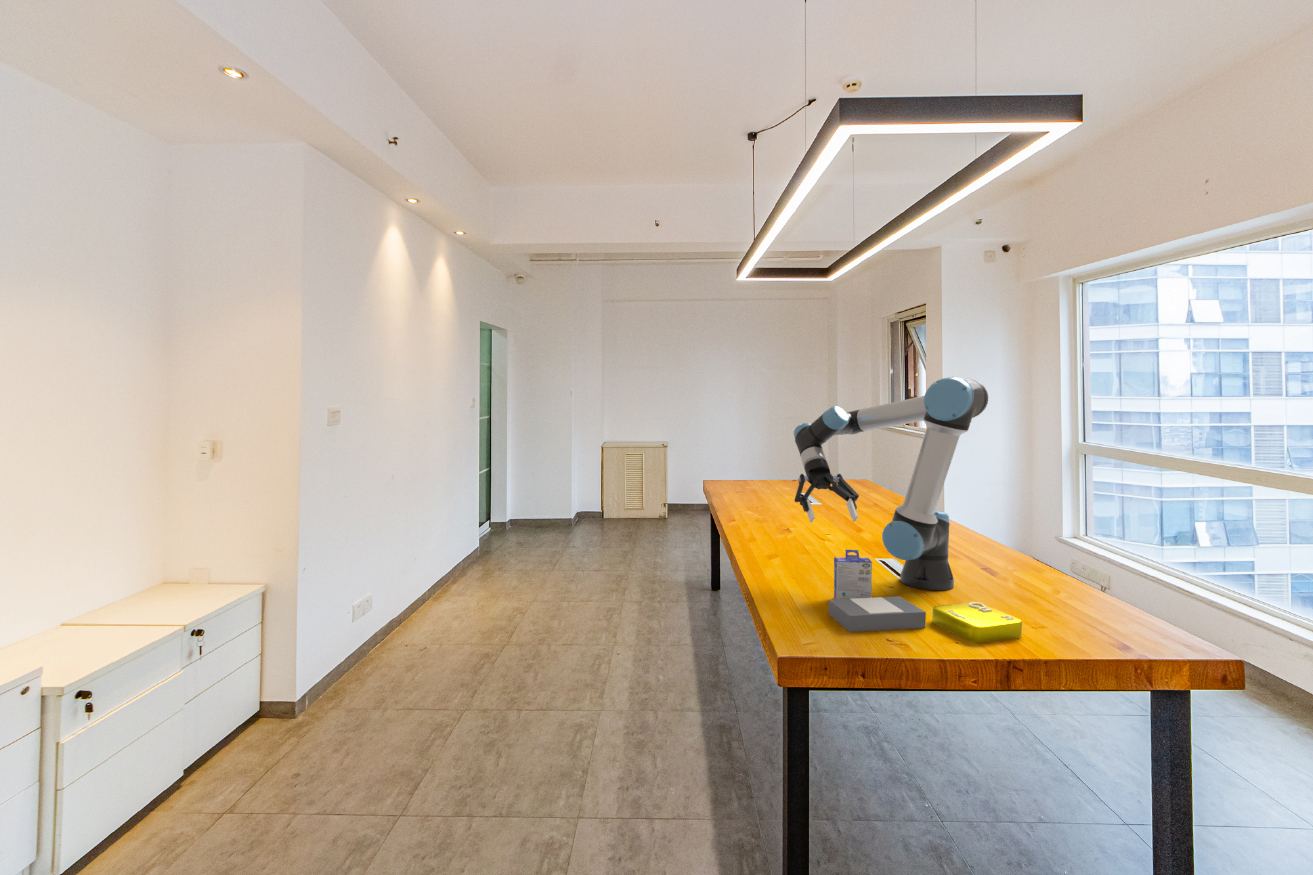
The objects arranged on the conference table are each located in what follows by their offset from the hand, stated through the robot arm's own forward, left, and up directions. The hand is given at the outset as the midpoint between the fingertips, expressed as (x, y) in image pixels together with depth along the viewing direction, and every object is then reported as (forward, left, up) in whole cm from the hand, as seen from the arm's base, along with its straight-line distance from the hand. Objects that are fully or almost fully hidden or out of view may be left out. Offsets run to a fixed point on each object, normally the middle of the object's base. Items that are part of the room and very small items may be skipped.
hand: (834, 519), depth 176 cm
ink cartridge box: (0, +12, -21) cm, 24 cm away
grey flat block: (+1, +27, -21) cm, 34 cm away
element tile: (-21, +35, -22) cm, 46 cm away
